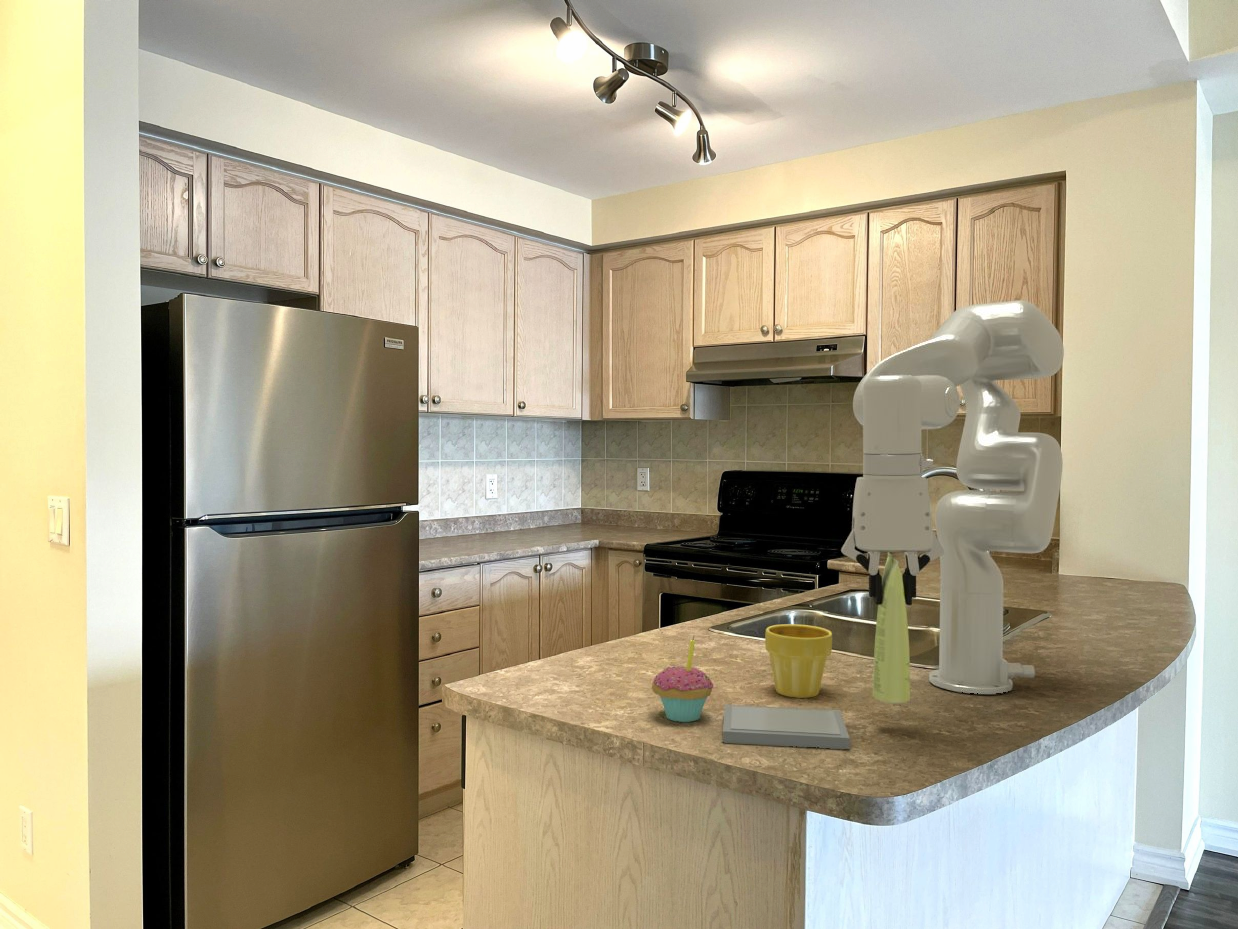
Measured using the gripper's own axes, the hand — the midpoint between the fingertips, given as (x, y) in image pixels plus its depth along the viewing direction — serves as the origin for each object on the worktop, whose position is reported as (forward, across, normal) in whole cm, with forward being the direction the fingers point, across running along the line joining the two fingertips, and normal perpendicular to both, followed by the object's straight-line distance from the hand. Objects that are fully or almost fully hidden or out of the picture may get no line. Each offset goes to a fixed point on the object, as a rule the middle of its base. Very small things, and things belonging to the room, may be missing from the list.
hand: (892, 601), depth 118 cm
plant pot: (+18, +12, -17) cm, 27 cm away
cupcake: (+17, +29, -1) cm, 34 cm away
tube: (+14, 0, 0) cm, 14 cm away
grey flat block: (+17, +15, +3) cm, 23 cm away
